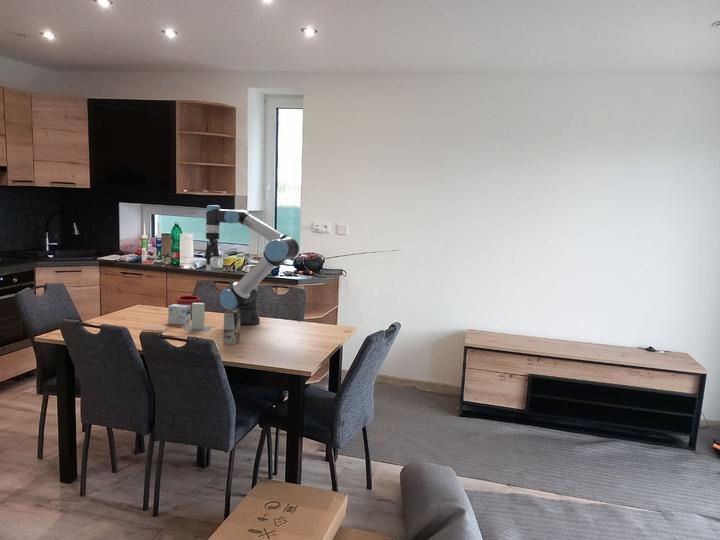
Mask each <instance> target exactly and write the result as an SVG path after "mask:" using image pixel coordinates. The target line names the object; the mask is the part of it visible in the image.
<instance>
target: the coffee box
mask: <svg viewBox="0 0 720 540" xmlns="http://www.w3.org/2000/svg"><path fill="white" fill-rule="evenodd" d="M240 314H241V310H237V309H230V310H229V309H227V310H226V311H225V312H223V339H222V340H223V344H227V345H236V344H237V343H239V341H240V337H241V335H240V334H241V324H240Z"/></svg>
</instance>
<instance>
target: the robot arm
mask: <svg viewBox="0 0 720 540" xmlns="http://www.w3.org/2000/svg"><path fill="white" fill-rule="evenodd" d="M205 217H206V218H205V219H206V220H205V221H206V223H205V239H206V240H207V241H206V249H205V255H204V259H205V271H212V268H213V269H214V268H216V269H217V268H219V267H218V265H219V263H218V262H219V260H218V258H219V257H220V253H219V252H220V251H219V244H218V243H219V242H218V240H219V239H220V229H221V226H220V223H223V224H240V225H242V226H243V227H245V228H247V229H248V230H250V231H252V233H253V232H254V233H255V234H256V235H258V236H259V237H261V238H262V239H264V240H266V241H267V243H266V245H265V247H264V251H263V252H262V255H263V256H262V257H261V258H260V259H259V260H258V261H257V262H256V263H255V264H254V265H253V267H251V269H250V270H249V271H248V272H247V273H246V274H245V275H244V276H242V278H241V279H240V280H239V281H235V282H234V283H232V284H231V285H230V287H228V288H225V289H224V290H221V292H220V294H219V302H220V304H221V306H222V307H223V308H225V309H226V310H241V314H240V325H241V324H246V325H245V326H250V325H249V324H254V325H258V324H260V323H259V322H261V318H260V314H259V312H258V311H259V310H258V300H259V299H258V297H259V296H258V295H259V287H258V285H259V284H260V283H261V282H262V281H263V280H264V279H265V277H267V276H268V274H269V273H271V271H272V270H273V269H275V268H279V267H280V266H282V264H283V263H284V262H285V261H286V260H293V259H295V258H296V257H297V256H298V255H299V253H300V246H299V243H298V241H296V239H294V238H293V237H291V236H290V235H288V234H286V233H285V234H282V233H281V232H280V231H278V230H276V229H274V228H273V227H271V226H270V225H268V224H266V223H264V222H263V221H261V220H260V219H258V218H256V217H254V216H252V214H251V213H250V211H249V210H246V209H222V208H221V206H220V205H217V204H216V205H215V204H214V205H213V204H212V205H211V204H209V205H207V206H206V211H205ZM257 323H258V324H257Z"/></svg>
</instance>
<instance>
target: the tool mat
mask: <svg viewBox="0 0 720 540" xmlns="http://www.w3.org/2000/svg"><path fill="white" fill-rule="evenodd" d="M191 328H192V324H191V325H190V324H189V325H187V326H186V327H184V328H183V329H182V331H187V332H192V331H193V332H205V333H207V332H209V331H210V330H212V329H213V328H214V326H207V325H204V329H191Z"/></svg>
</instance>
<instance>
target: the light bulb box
mask: <svg viewBox="0 0 720 540" xmlns="http://www.w3.org/2000/svg"><path fill="white" fill-rule="evenodd" d="M190 312H191V305H182V304H181V305H178V304H177V303H176V304H175V303H173V304H171V305H168V313H167V315H168V320H167V322H168V324H173V325H174V324H175V325H183V326H185V325H188V324H190V323H191V318H190Z"/></svg>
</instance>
